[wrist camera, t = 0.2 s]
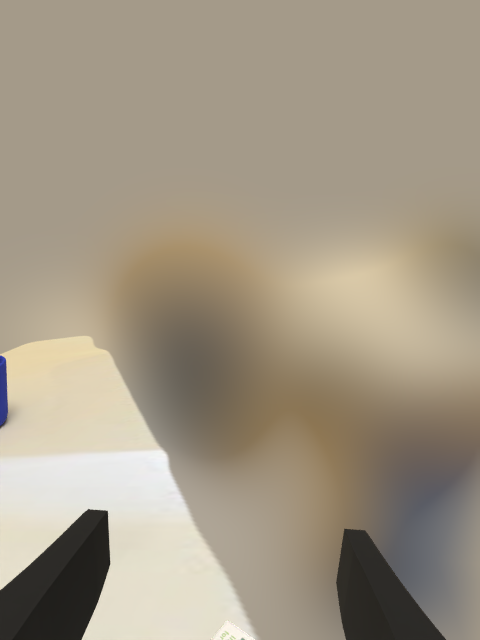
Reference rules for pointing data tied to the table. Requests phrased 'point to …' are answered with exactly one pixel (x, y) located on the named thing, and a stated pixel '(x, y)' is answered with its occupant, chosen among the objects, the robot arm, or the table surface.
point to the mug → (3, 391)
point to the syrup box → (231, 633)
